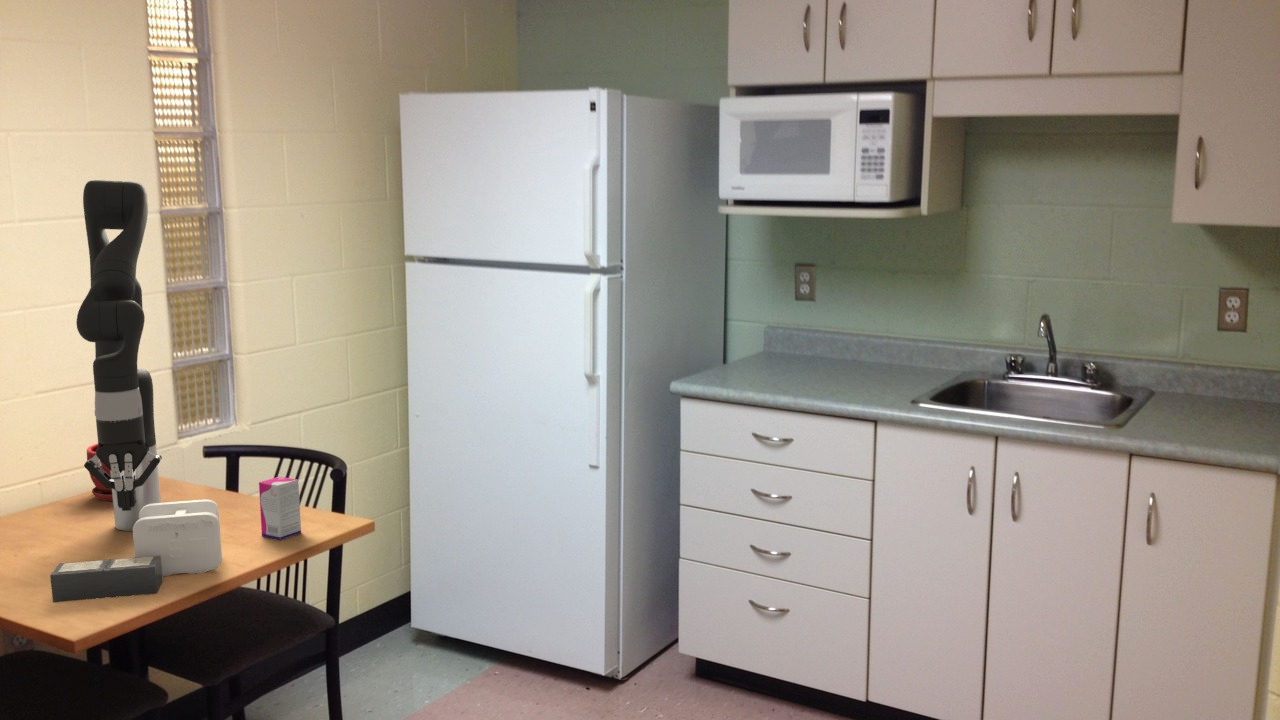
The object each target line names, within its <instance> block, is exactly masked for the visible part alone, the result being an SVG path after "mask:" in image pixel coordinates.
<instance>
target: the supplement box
mask: <svg viewBox="0 0 1280 720" xmlns="http://www.w3.org/2000/svg"><path fill="white" fill-rule="evenodd" d="M258 488H259V489H258V491H259V492H258V493H259V506H260V507H259V509H260V510H259V511H260V524H261V525H260V527H261V529H260V530H261V537H266V538H269V539H273V540H274V539H275V540H278V541H283V540H285V539H288V538H290V537H293V536H296V535H298V534H301V533H302V522H301V521H302V520H301V506H300V504H301V503H300V490H299V489H300V488H299V479H295V478H291V477H284V476H278V477H277V476H276V477H273V478H270V479H267V480H263V481H259V482H258Z"/></svg>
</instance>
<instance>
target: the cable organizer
mask: <svg viewBox="0 0 1280 720" xmlns="http://www.w3.org/2000/svg"><path fill="white" fill-rule="evenodd" d="M219 509H220V508H219V505H218V503H216V502H215V501H214V500H212V499H206V498H205V499H195V500H183V501H170V502H168V501H167V502H166V501H165V502H161V503H153V504H148V505H146V506H144V507H143V508H142V509H141V510H140V512H139V520H138V521H136V523H135V524H134V526H133V531H132V537H133V538H132V539H133V550H134V558H137V557H150V556H161V567H162V578H163V577H164V576H165V577H169V576H171V575H176V574H187V575H196V574H195V573H197V574H205V573H207V571H213V570H215V569H217V568H219V566H220V565H221V564H222V560H223V552H222V540H221V538H222V537H221V525H220V524H221V523H220V514H219V513H220V511H219Z"/></svg>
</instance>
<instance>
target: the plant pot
mask: <svg viewBox="0 0 1280 720" xmlns="http://www.w3.org/2000/svg"><path fill="white" fill-rule="evenodd" d="M97 448H98V442H97V443H93V444H92V445H89V447H87V449H86V462H87V461H88V460H89V459H91V458H93V457H94V456H95V455H96V450H97ZM100 462H101V467H102V468H103V469H104V470H105V471H106V472H107V473H108V474H109V475H110V476H111V473H110V470H109V469H108V468H107V467H106V466H105V465H104V463H103V462H102V461H101V460H100ZM88 473H89V477H90V479H91V481H92V484H93V485H94V487H93V488H92V489H91V493H92V495H93V496H94V497H95V498H96V499H99V500H101V501H108V502H109V501H110V502H111V501H112V502H113V495H112V488H105V487H104V486H103V485H102V484H101V483H100V482H99V481H98V480H97V479H96V478H95V477H94V476H93V475H92V474H91V473H90V472H89V471H88Z"/></svg>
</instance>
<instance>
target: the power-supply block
mask: <svg viewBox="0 0 1280 720" xmlns="http://www.w3.org/2000/svg"><path fill="white" fill-rule="evenodd" d="M49 576H50V585H51V586H50V587H51V595H52V603H61V602H63V603H64V602H74V601H75V602H76V601H84V600H85V601H86V599H87V600H97V599H96V598H99V599H106V598H105V597H111V598H120V597H119V596H121V598H122V596H123V597H132V595H134V596H143V595H157V594H158V592H159V590H160V588H161V586H162V584H163V583H164V581H163V580H164V579H163V577H162V567H161V556H150V557H137V558H135V557H127V558H126V557H125V558H114V559H113V558H112V559H103V560H102V559H101V560H99V559H98V560H87V561H79V562H78V561H75V562H62V563H58V564H57V566H56V567H55V568H54V570H53V571H52V572H51V574H50V575H49ZM116 596H118V597H116Z"/></svg>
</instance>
